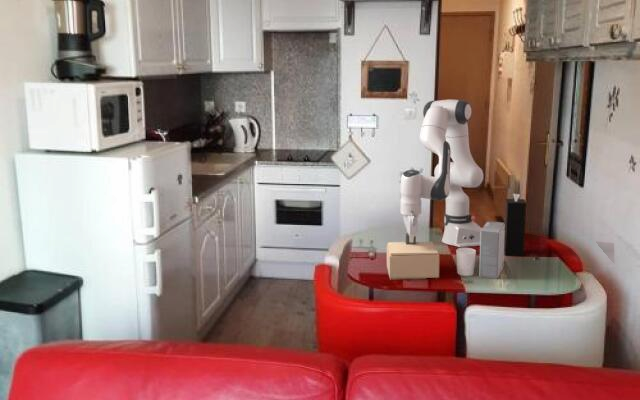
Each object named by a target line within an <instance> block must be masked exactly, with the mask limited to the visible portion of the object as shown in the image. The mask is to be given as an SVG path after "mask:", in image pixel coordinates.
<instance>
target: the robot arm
mask: <svg viewBox="0 0 640 400" xmlns="http://www.w3.org/2000/svg"><path fill="white" fill-rule="evenodd" d="M422 115H423V121H422V124H421V127H420V131H419V142H420V144H421V146H422V147H423V148H425V149H427V151H430V152H431V153H434V154H436V155H437V156H438V163H437V164H436V166H435V167H434V173H433V175H434V176H430V175H422V174H421V171H419V170H417V169H409V170H408V169H407V170H406V171H403V172H402V174H401V176H400V177H401V178H400V191H399V192H400V197H401V198H400V200H399V201H400V202H399V203H400V204H399V205H400V206H399V208H400V210H399V211H400V212H399V213H400V214H401V215H402V217H403V223H404V224H403V225H404V227H405V229H406V232H407V233H408V234H409V242H410V243H411V242H414V236H416V237H417V236H418V234H419V223H418V222H419V221H418V218H419V215H420V214H422V199H428V200H433V201H437V202H438V201H439V202H442V201H443V200H445V212H444V215H443V217H444V218H443V219H444V220H443V221H444V230H443V231H444V232H443V236H442V238H441V242H442V243H444V244H446V245H450V246H454V247H458V248H468V247H477V246H479V247H480V231H481V229H482V228H483V227H481V226H480V225H479V224H478V223H476V222H475V221H476V217H475V215H473V214H472V213H470V197H469V196H468V195H467V194H466V193H465V192H464V190H463V188H477V187H480V185H481V184H482V183H483V181H484V171H483V169H482V168H481V167H480V166H479V165H478V164H477V163H476V162H475V159H474V158H473V155H472V153H471V150H470V141H469V139H470V138H469V126H468V122H469V121H470V119H471V117H472V106H471V104H470V101H468V100H465V99H441V100H439V99H438V100H430V101H428V102H426V103H425V105H424V106H423V110H422ZM451 159H452V161H451ZM462 187H463V188H462ZM407 233H406V234H407Z"/></svg>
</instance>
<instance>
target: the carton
mask: <svg viewBox="0 0 640 400" xmlns="http://www.w3.org/2000/svg"><path fill="white" fill-rule="evenodd" d="M386 270H387V273H388V277H389V280H390V281H391V280H427V279H426V278H439V279H440V254H439V253H438V254H431V255H391V254H390V250H389V246H388V244H386Z"/></svg>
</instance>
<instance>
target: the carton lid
mask: <svg viewBox="0 0 640 400" xmlns="http://www.w3.org/2000/svg"><path fill="white" fill-rule="evenodd" d="M404 240H405V241H393V242H390V241H389V242H387V245H388V246H389V250H390V254H391V255H431V254H439V251H438V250H437V247H436V246H435V244H434V242H433V241H416V240H417V236H414V242H411V243H410V242H409V234H408V233H405V239H404Z"/></svg>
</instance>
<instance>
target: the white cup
mask: <svg viewBox="0 0 640 400" xmlns="http://www.w3.org/2000/svg"><path fill="white" fill-rule="evenodd" d="M455 250H456V255H455V256H456V258H455V260H456V273H457V274H458V275H459V276H463V277H470V276H474V273H475V267H476V255H477V250H476V249H474V248H471V247H458V248H456V249H455Z"/></svg>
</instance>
